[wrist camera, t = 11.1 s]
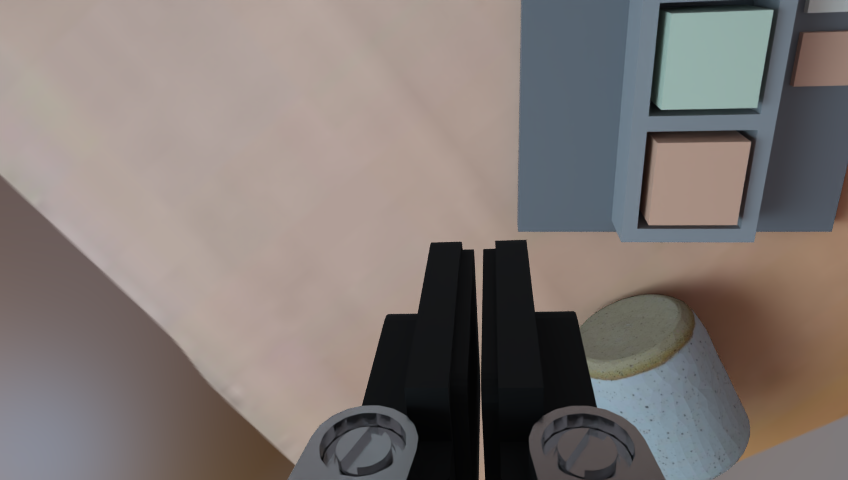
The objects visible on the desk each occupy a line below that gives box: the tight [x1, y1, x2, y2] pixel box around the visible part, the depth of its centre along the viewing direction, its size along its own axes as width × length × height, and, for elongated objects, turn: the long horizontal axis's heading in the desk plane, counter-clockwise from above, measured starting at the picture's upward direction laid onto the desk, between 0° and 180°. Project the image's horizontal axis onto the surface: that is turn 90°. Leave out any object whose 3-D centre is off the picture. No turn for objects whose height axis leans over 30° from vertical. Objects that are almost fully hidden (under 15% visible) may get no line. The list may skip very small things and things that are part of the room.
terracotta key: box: [639, 130, 751, 225], centre depth 30 cm, size 4×4×3 cm
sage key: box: [650, 5, 774, 110], centre depth 28 cm, size 4×4×3 cm
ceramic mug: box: [580, 294, 750, 480], centre depth 35 cm, size 11×8×8 cm
